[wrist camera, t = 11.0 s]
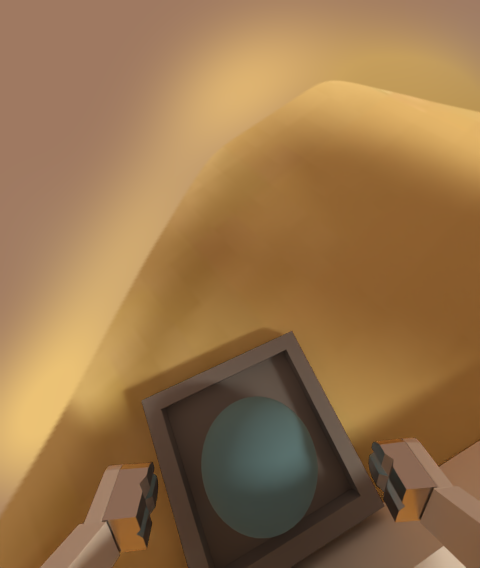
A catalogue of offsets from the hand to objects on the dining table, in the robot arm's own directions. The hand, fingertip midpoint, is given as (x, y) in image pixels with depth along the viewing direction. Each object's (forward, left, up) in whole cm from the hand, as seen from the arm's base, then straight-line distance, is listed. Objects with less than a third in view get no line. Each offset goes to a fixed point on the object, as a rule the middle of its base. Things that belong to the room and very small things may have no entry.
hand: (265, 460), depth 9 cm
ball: (0, 0, -2) cm, 2 cm away
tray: (0, 0, -5) cm, 5 cm away
